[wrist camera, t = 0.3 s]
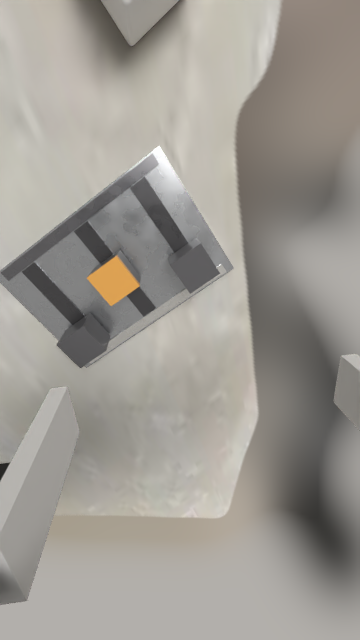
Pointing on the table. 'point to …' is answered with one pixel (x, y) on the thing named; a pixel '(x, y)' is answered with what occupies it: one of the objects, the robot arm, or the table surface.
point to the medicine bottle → (137, 15)
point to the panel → (106, 239)
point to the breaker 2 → (193, 265)
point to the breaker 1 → (84, 340)
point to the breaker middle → (114, 278)
